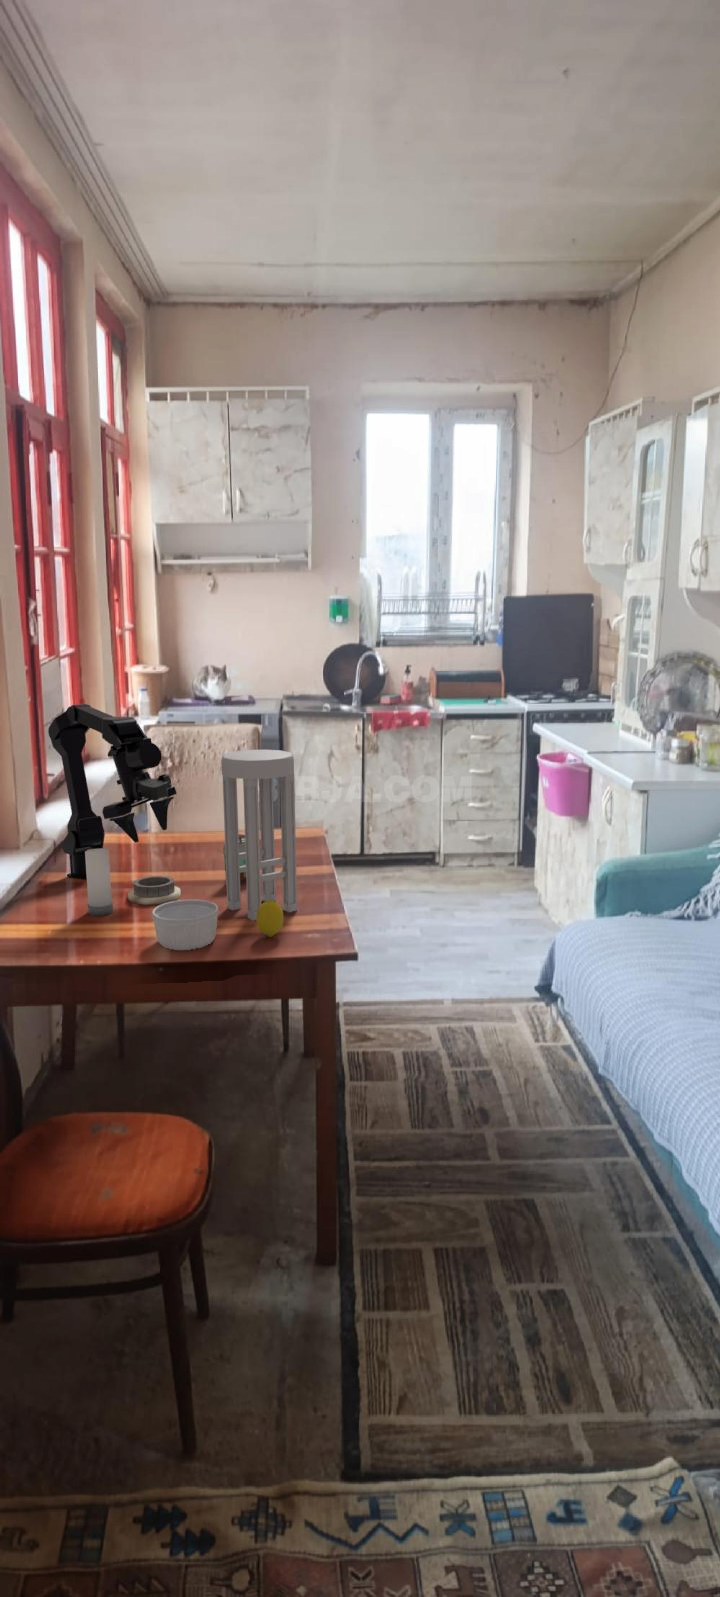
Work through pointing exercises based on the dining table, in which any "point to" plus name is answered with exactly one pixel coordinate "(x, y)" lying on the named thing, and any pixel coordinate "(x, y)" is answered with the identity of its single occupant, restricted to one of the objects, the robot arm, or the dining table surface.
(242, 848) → the food container
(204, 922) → the ramekin
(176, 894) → the socket
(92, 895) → the white smooth rounded part
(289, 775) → the stool
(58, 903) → the dining table surface
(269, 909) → the lemon
